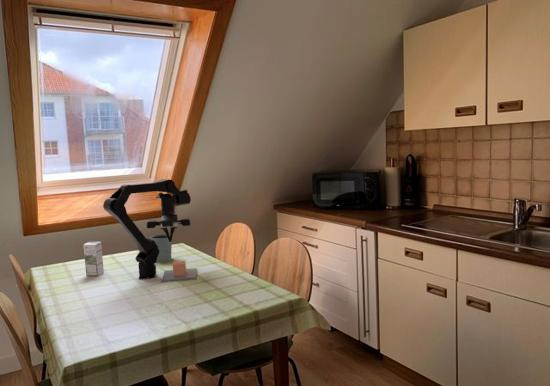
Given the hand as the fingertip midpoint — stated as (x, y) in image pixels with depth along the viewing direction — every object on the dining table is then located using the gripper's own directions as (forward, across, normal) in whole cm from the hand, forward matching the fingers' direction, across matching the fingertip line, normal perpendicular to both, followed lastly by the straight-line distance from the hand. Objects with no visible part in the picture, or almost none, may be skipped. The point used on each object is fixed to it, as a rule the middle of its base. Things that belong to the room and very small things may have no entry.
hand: (170, 241), depth 200 cm
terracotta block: (+12, +4, -10) cm, 16 cm away
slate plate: (+13, +4, -10) cm, 17 cm away
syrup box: (+13, -34, +3) cm, 37 cm away
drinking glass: (+13, -6, +19) cm, 24 cm away
